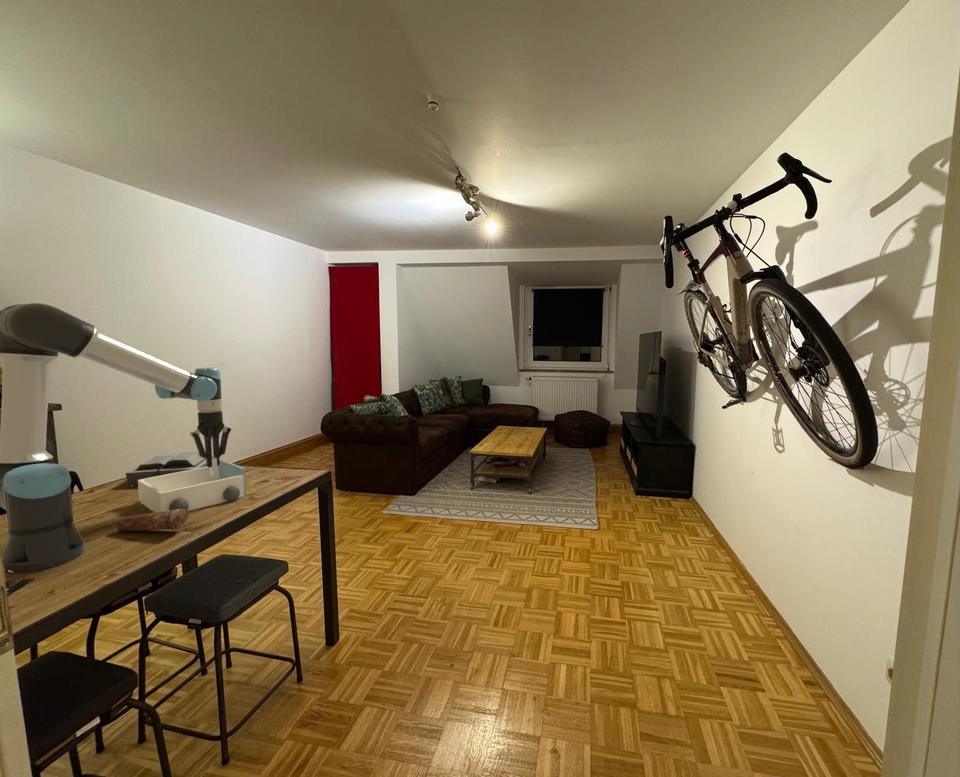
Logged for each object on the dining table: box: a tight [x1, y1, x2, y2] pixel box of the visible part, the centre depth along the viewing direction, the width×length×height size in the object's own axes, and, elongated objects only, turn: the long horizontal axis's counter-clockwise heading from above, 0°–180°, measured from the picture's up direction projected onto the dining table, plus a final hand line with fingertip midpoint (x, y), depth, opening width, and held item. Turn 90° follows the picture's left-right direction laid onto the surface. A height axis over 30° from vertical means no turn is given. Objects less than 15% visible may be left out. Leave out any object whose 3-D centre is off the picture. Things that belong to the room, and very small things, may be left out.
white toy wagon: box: [137, 466, 245, 513], centre depth 154 cm, size 25×25×8 cm
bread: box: [116, 509, 190, 532], centre depth 128 cm, size 6×19×6 cm, turn 90°
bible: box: [125, 451, 207, 487], centre depth 177 cm, size 23×27×10 cm
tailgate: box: [218, 459, 247, 495], centre depth 165 cm, size 1×20×10 cm, turn 52°
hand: (213, 475), depth 160 cm, fingers closed
